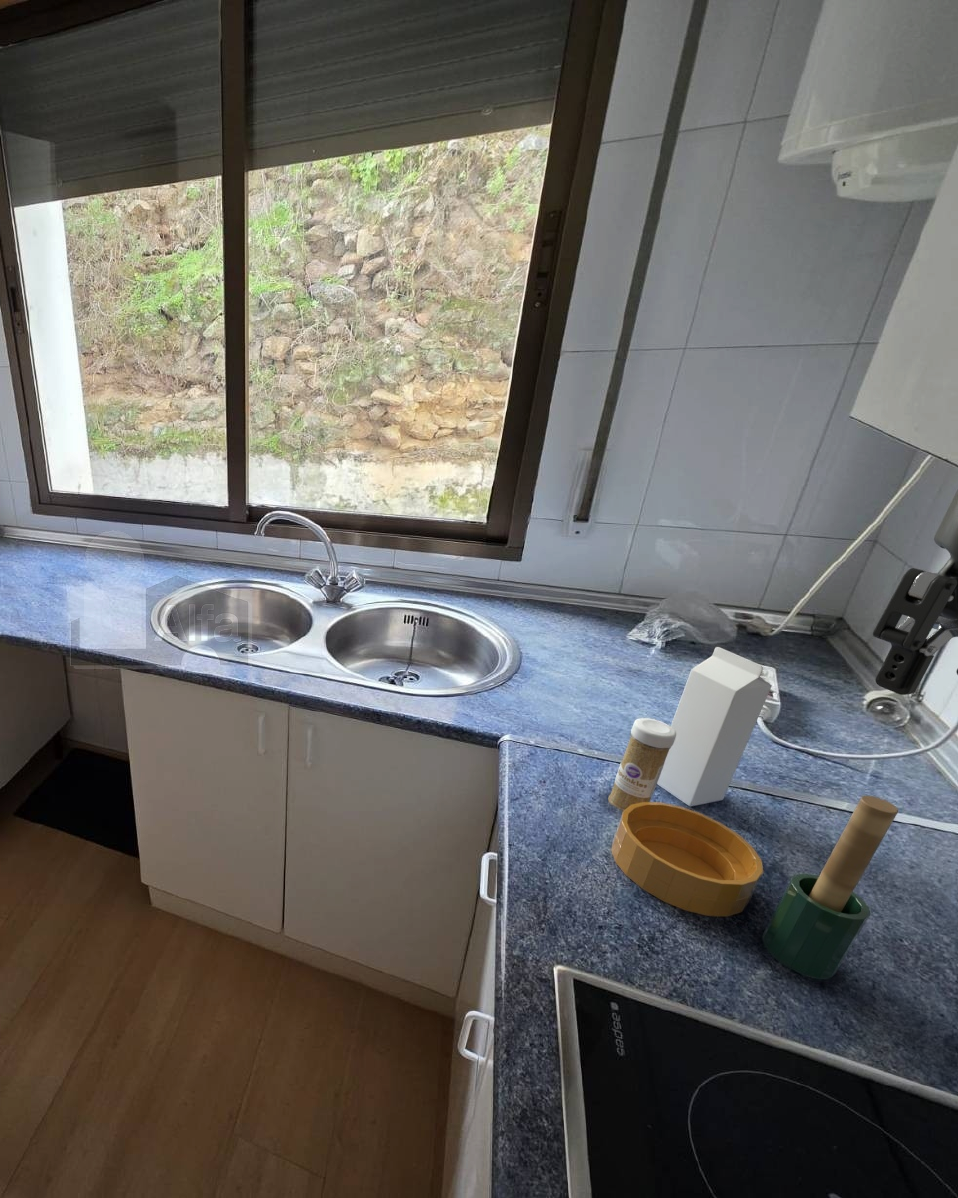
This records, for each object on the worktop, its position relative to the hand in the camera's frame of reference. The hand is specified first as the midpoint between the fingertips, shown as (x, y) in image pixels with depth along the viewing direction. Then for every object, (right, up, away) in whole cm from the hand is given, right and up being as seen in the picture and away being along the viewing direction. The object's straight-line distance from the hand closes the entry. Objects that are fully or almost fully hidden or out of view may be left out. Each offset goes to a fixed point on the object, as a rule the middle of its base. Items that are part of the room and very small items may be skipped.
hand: (934, 685), depth 52 cm
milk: (+12, -21, +39) cm, 46 cm away
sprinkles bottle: (+1, -22, +36) cm, 42 cm away
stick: (+3, -30, +14) cm, 34 cm away
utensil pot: (+3, -31, +14) cm, 34 cm away
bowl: (-1, -27, +25) cm, 36 cm away
